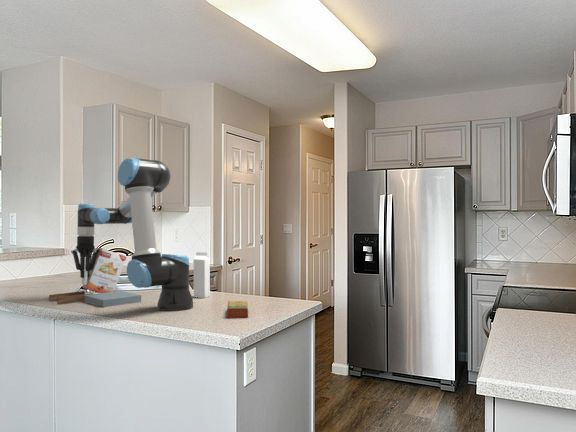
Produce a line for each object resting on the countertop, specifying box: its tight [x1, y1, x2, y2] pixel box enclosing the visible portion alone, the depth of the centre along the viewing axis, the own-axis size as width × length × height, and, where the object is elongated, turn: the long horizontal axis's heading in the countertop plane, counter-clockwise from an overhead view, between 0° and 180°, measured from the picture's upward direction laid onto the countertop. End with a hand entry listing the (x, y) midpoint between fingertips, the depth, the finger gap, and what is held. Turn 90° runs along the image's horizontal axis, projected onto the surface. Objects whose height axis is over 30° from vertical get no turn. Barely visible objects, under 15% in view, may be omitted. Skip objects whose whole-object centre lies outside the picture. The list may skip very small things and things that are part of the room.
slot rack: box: [48, 290, 94, 305], centre depth 221 cm, size 11×16×3 cm
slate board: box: [83, 290, 142, 308], centre depth 217 cm, size 20×18×3 cm
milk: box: [193, 251, 211, 299], centre depth 230 cm, size 6×6×22 cm
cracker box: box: [82, 247, 127, 293], centre depth 233 cm, size 14×6×21 cm, turn 136°
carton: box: [226, 300, 249, 319], centre depth 189 cm, size 8×16×4 cm, turn 6°
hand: (84, 284), depth 225 cm, fingers closed
